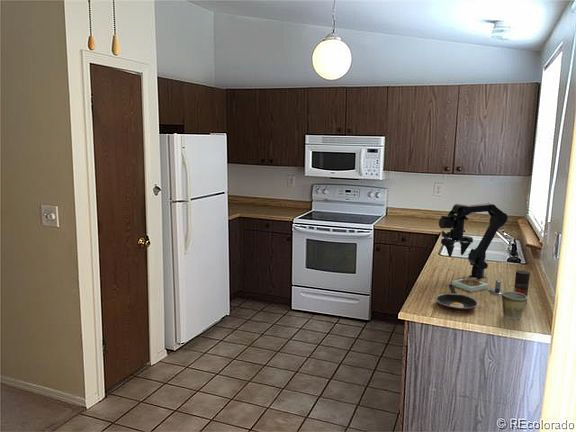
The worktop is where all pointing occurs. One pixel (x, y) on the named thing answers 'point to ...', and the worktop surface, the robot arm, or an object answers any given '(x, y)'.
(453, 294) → the frying pan
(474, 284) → the ring
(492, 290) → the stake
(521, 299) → the ceramic cup
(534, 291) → the worktop surface
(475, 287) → the tray
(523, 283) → the deodorant
